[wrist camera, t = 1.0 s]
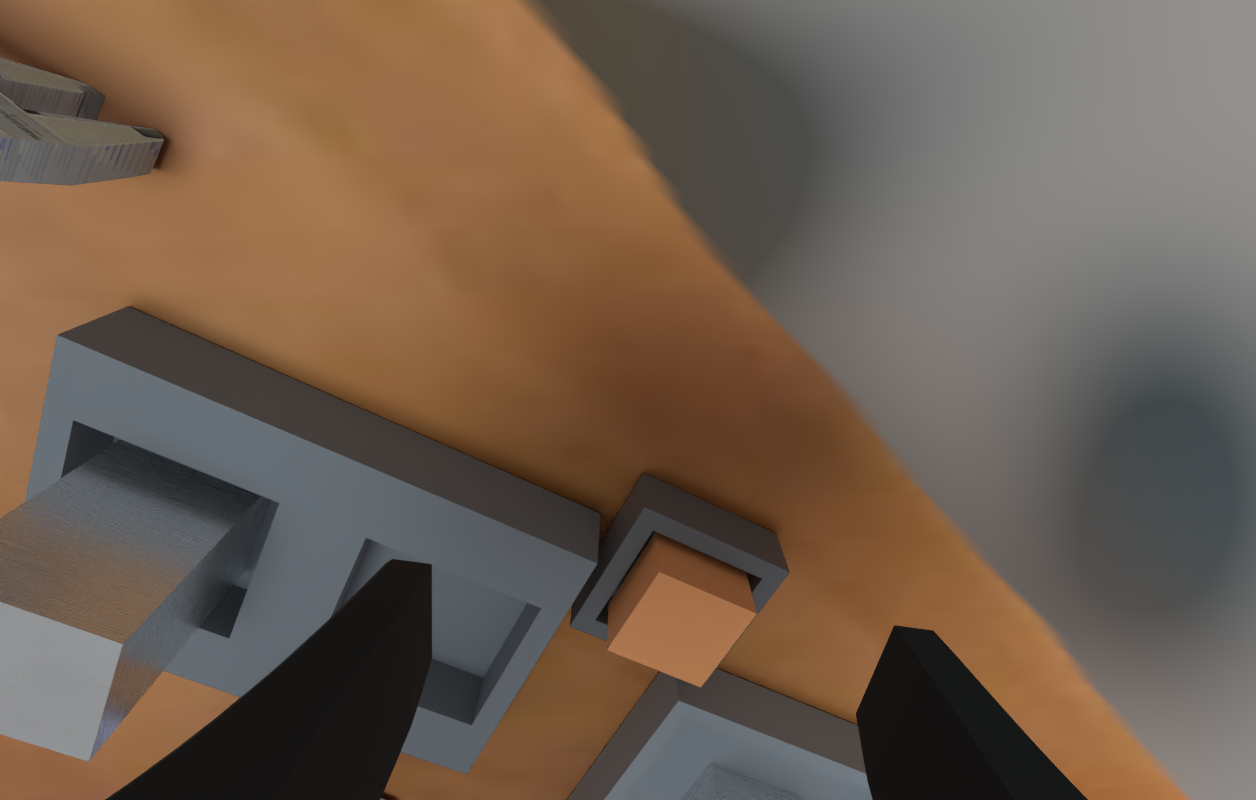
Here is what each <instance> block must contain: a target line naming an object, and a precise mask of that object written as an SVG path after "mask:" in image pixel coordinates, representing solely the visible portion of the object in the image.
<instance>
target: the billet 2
mask: <svg viewBox="0 0 1256 800" xmlns="http://www.w3.org/2000/svg"><path fill="white" fill-rule="evenodd" d="M681 800H801V799H800V795H797V794H794V793H792V792H789V791H786V790H784V789H781V788H778V787H776V786H773V785H770V784H768V783H765V782H762V781H760V780H757V779H754V778H752V777H749V776H746V775H744V774H741V773H738V772H736V771H733V770H730V769H728V768H725V767H722V766H720V765H717V764H714V763H712V762H711V763H710V764H709V766H708V767H707V768H706V769H705V770H704V772H703V773H702V774H701V775H700V776H699V778H698V779H697V780H696V781H695V783H694V784H693V785H692V786H691V787H690V789H689V790H688V791H687V792H686V794H685V795H684V796H683V797H682V798H681Z"/></svg>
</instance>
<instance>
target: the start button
mask: <svg viewBox="0 0 1256 800" xmlns="http://www.w3.org/2000/svg"><path fill="white" fill-rule="evenodd" d="M756 615H757V612H756V608H755V604H754V600H753V596H752V593H751V589H750V585H749V581H748V577H747V573H746V571H744V570H741V569H739V568H737V567H734V566H732V565H730V564H728V563H725V562H723V561H721V560H719V559H716V558H714V557H712V556H710V555H707V554H705V553H703V552H700V551H698V550H696V549H694V548H691V547H689V546H687V545H685V544H682V543H680V542H678V541H676V540H673V539H671V538H669V537H667V536H664V535H662V534H660V533H657V532H655V533H654V534H653V536H652V538H651V539H650V541H649V542H648V544H647V545H646V547H645V548H644V550H643V551H642V553H641V555H640V556H639V558H638V559H637V561H636V562H635V564H634V565H633V567H632V568H631V570H630V572H629V573H628V575H627V576H626V578H625V579H624V581H623V582H622V584H621V585H620V587H619V589H618V590H617V592H616V593H615V595H614V596H613V598H612V599H611V601H610V603H609V605H608V634H607V650H608V651H610V652H613V653H615V654H618V655H620V656H623V657H625V658H628V659H630V660H633V661H635V662H638V663H640V664H643V665H645V666H648V667H650V668H653V669H656V670H658V671H661V672H663V673H666V674H668V675H671V676H673V677H676V678H678V679H681V680H683V681H686V682H688V683H691V684H693V685H696V686H698V687H702V685H703V684H704V683H705V681H706V680H707V679H708V677H709V676H710V675H711V674H712V672H713V671H714V670H715V668H716V667H717V666H718V664H719V663H720V662H721V660H722V659H723V658H724V657H725V655H726V654H727V653H728V651H729V650H730V649H731V647H732V646H733V645H734V643H735V642H736V641H737V639H738V638H739V637H740V636H741V634H742V633H743V632H744V630H745V629H746V628H747V626H748V625H749V624H750V622H751V621H752V620H753V619H754V617H755V616H756Z"/></svg>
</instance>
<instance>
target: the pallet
mask: <svg viewBox="0 0 1256 800" xmlns="http://www.w3.org/2000/svg"><path fill="white" fill-rule="evenodd" d="M120 439H121V440H124V441H126V442H129V443H131V444H134V445H136V446H139V447H141V448H144V449H146V450H149V451H151V452H154V453H156V454H159V455H161V456H164V457H166V458H169V459H171V460H174V461H176V462H179V463H181V464H184V465H186V466H189V467H191V468H193V469H196V470H198V471H201V472H203V473H206V474H208V475H211V476H213V477H216V478H218V479H221V480H223V481H226V482H228V483H231V484H233V485H236V486H238V487H241V488H243V489H246V490H248V491H251V492H253V493H256V494H258V495H261V496H263V497H266V498H268V499H271V501H270V504H269V507H268V509H267V512H266V515H265V518H264V520H263V523H262V526H261V529H260V531H259V534H258V537H257V540H256V542H255V545H254V548H253V551H252V553H251V556H250V559H249V562H248V564H247V567H246V570H245V571H244V573H243V574H242V575H241V576H240V578H239V579H238V580H237V581H236V582H235V584H234V585H233V586H232V587H231V589H230V590H229V591H228V592H227V593H226V595H225V596H224V597H223V598H222V600H221V601H220V602H219V603H218V604H217V606H216V607H215V608H214V609H213V611H212V612H211V613H210V614H209V615H208V617H207V618H206V619H205V620H204V621H203V623H202V624H201V625H200V626H199V628H198V629H197V630H196V631H195V632H194V634H193V635H192V636H191V637H190V639H189V640H188V641H187V642H186V643H185V645H184V646H183V647H182V648H181V650H180V651H179V652H178V653H177V654H176V656H175V657H174V658H173V659H172V661H171V662H170V663H169V664H168V665H167V667H166V668H165V669H164V670H163V671H166V672H169V673H172V674H175V675H178V676H180V677H183V678H186V679H189V680H192V681H195V682H198V683H201V684H204V685H207V686H210V687H213V688H215V689H218V690H221V691H224V692H227V693H230V694H233V695H236V696H239V697H242V696H243V695H244V694H245V693H247V692H248V691H249V690H250V689H251V688H252V687H254V686H255V685H256V684H257V683H258V682H260V681H261V680H262V679H263V678H264V677H266V676H267V675H268V674H269V673H270V672H272V671H273V670H274V669H275V668H276V667H277V666H278V665H280V664H281V663H282V662H283V661H284V660H285V659H286V658H287V657H288V656H290V655H291V654H292V653H293V652H294V651H295V650H296V649H297V648H298V647H299V646H300V645H302V644H303V643H304V642H305V641H306V640H307V639H308V638H309V637H310V636H311V635H313V634H314V633H315V632H316V631H317V630H318V629H319V628H320V627H321V626H322V625H323V624H324V623H326V622H327V621H328V620H329V619H330V618H331V617H332V616H333V615H334V614H335V613H336V612H337V611H338V610H339V609H340V608H341V607H342V606H343V605H344V604H345V603H346V602H347V601H348V600H349V599H350V598H351V597H352V596H353V595H354V594H355V593H356V592H357V591H358V590H359V589H360V588H361V587H362V586H363V585H364V584H365V583H366V582H367V581H368V580H369V579H370V578H371V577H372V576H373V575H374V574H375V573H376V572H377V571H378V570H379V569H380V568H381V567H382V566H383V565H384V564H385V563H387V562H388V561H390V560H391V559H398V560H405V561H413V562H420V563H428V564H432V661H431V664H430V667H429V671H428V674H427V677H426V681H425V684H424V687H423V691H422V694H421V697H420V700H419V704H418V707H417V710H416V713H415V716H414V719H413V723H412V725H411V728H410V730H409V733H408V735H407V737H406V740H405V742H404V745H403V747H402V749H401V752H402V753H405V754H408V755H411V756H414V757H417V758H420V759H423V760H426V761H429V762H431V763H434V764H437V765H440V766H443V767H446V768H449V769H452V770H455V771H458V772H461V773H464V774H466V775H467V774H468V772H469V770H470V769H471V767H472V765H473V764H474V762H475V761H476V759H477V757H478V756H479V754H480V753H481V751H482V749H483V748H484V746H485V744H486V743H487V741H488V740H489V738H490V736H491V735H492V733H493V732H494V730H495V728H496V727H497V725H498V723H499V722H500V720H501V719H502V717H503V715H504V714H505V712H506V711H507V709H508V707H509V706H510V704H511V702H512V701H513V699H514V698H515V696H516V694H517V693H518V691H519V690H520V688H521V686H522V685H523V683H524V681H525V680H526V678H527V677H528V675H529V673H530V672H531V670H532V669H533V667H534V665H535V664H536V662H537V660H538V659H539V657H540V656H541V654H542V652H543V651H544V649H545V648H546V646H547V644H548V643H549V641H550V639H551V638H552V636H553V635H554V633H555V631H556V630H557V628H558V627H559V625H560V623H561V622H562V620H563V618H564V617H565V615H566V614H567V612H568V610H569V609H570V607H571V606H572V604H573V602H574V601H575V599H576V597H577V596H578V594H579V593H580V591H581V589H582V588H583V586H584V585H585V583H586V581H587V580H588V578H589V576H590V575H591V573H592V572H593V570H594V568H595V567H596V565H597V563H598V547H599V531H600V515H601V514H600V513H598V512H596V511H593V510H591V509H589V508H586V507H584V506H582V505H580V504H577V503H575V502H573V501H570V500H568V499H566V498H564V497H561V496H559V495H557V494H555V493H552V492H550V491H548V490H545V489H543V488H541V487H539V486H536V485H534V484H532V483H530V482H527V481H525V480H523V479H520V478H518V477H516V476H514V475H511V474H509V473H507V472H504V471H502V470H500V469H498V468H495V467H493V466H491V465H489V464H486V463H484V462H482V461H479V460H477V459H475V458H473V457H470V456H468V455H466V454H464V453H461V452H459V451H457V450H454V449H452V448H450V447H448V446H445V445H443V444H441V443H438V442H436V441H434V440H432V439H429V438H427V437H425V436H423V435H420V434H418V433H416V432H413V431H411V430H409V429H407V428H404V427H402V426H400V425H398V424H395V423H393V422H391V421H388V420H386V419H384V418H382V417H379V416H377V415H375V414H373V413H370V412H368V411H366V410H363V409H361V408H359V407H357V406H354V405H352V404H350V403H347V402H345V401H343V400H341V399H338V398H336V397H334V396H332V395H329V394H327V393H325V392H322V391H320V390H318V389H316V388H313V387H311V386H309V385H307V384H304V383H302V382H300V381H297V380H295V379H293V378H291V377H288V376H286V375H284V374H281V373H279V372H277V371H275V370H272V369H270V368H268V367H266V366H263V365H261V364H259V363H256V362H254V361H252V360H250V359H247V358H245V357H243V356H241V355H238V354H236V353H234V352H231V351H229V350H227V349H225V348H222V347H220V346H218V345H215V344H213V343H211V342H209V341H206V340H204V339H202V338H200V337H197V336H195V335H193V334H190V333H188V332H186V331H184V330H181V329H179V328H177V327H175V326H172V325H170V324H168V323H165V322H163V321H161V320H159V319H156V318H154V317H152V316H150V315H147V314H145V313H143V312H140V311H138V310H136V309H134V308H131V307H129V306H128V307H125V308H123V309H120V310H118V311H115V312H113V313H110V314H108V315H105V316H103V317H100V318H98V319H95V320H93V321H91V322H88V323H86V324H83V325H81V326H78V327H76V328H73V329H71V330H68V331H66V332H63V333H61V334H58V335H57V339H56V344H55V349H54V354H53V360H52V365H51V370H50V375H49V380H48V386H47V391H46V396H45V401H44V406H43V412H42V417H41V422H40V427H39V432H38V437H37V443H36V448H35V453H34V458H33V463H32V469H31V474H30V479H29V484H28V489H27V495H26V500H25V502H26V501H27V500H29V499H30V498H32V497H33V496H35V495H37V494H38V493H40V492H41V491H43V490H44V489H46V488H47V487H49V486H50V485H52V484H53V483H55V482H56V481H58V480H59V479H61V478H62V477H64V476H65V475H67V474H68V473H70V472H71V471H73V470H74V469H76V468H77V467H79V466H80V465H82V464H83V463H85V462H87V461H88V460H90V459H91V458H93V457H94V456H96V455H97V454H99V453H100V452H102V451H103V450H105V449H106V448H108V447H109V446H111V445H112V444H114V443H115V442H117V441H118V440H120Z"/></svg>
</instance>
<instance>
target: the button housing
mask: <svg viewBox="0 0 1256 800" xmlns="http://www.w3.org/2000/svg"><path fill="white" fill-rule="evenodd" d="M655 532H657V533H660V534H662V535H664V536H667V537H669V538H671V539H673V540H676V541H678V542H680V543H682V544H685V545H687V546H689V547H691V548H694V549H696V550H698V551H700V552H703V553H705V554H707V555H710V556H712V557H714V558H716V559H719V560H721V561H723V562H725V563H728V564H730V565H732V566H734V567H737V568H739V569H741V570H744V571H746V573H747V577H748V581H749V585H750V589H751V593H752V596H753V600H754V604H755V608H756V612H757V614H758V613H759V612H760V610H761V609H762V608H763V606H764V605H765V604H766V602H767V601H768V600H769V599H770V597H771V596H772V595H773V593H774V592H775V591H776V589H777V588H778V587H779V585H780V584H781V583H782V582H783V580H784V579H785V578H786V576H787V575H788V574H789V572H790V571H789V569H788V566H787V563H786V560H785V557H784V554H783V551H782V549H781V546H780V543H779V540H778V537H777V534H776V533H774V532H772V531H770V530H767V529H765V528H763V527H761V526H759V525H756V524H754V523H752V522H750V521H748V520H746V519H743V518H741V517H739V516H737V515H735V514H732V513H730V512H728V511H726V510H724V509H722V508H719V507H717V506H715V505H713V504H711V503H708V502H706V501H704V500H702V499H700V498H698V497H695V496H693V495H691V494H689V493H687V492H684V491H682V490H680V489H678V488H676V487H674V486H671V485H669V484H667V483H665V482H663V481H661V480H658V479H656V478H654V477H652V476H650V475H647V474H645V473H642V475H641V477H640V478H639V480H638V482H637V483H636V485H635V487H634V488H633V490H632V491H631V493H630V495H629V496H628V498H627V500H626V501H625V503H624V505H623V506H622V508H621V509H620V511H619V513H618V514H617V516H616V518H615V519H614V521H613V523H612V524H611V526H610V527H609V529H608V531H607V532H606V534H605V536H604V537H603V539H602V541H601V542H600V544H599V547H598V563H597V565H596V567H595V568H594V570H593V572H592V573H591V575H590V576H589V578H588V580H587V581H586V583H585V585H584V586H583V588H582V589H581V591H580V593H579V594H578V596H577V597H576V599H575V601H574V602H573V604H572V610H571V620H570V627H572V628H575V629H577V630H580V631H582V632H585V633H587V634H590V635H592V636H595V637H597V638H600V639H602V640H605V641H607V634H608V605H609V603H610V601H611V599H612V598H613V596H614V595H615V593H616V592H617V590H618V589H619V587H620V585H621V584H622V582H623V581H624V579H625V578H626V576H627V575H628V573H629V572H630V570H631V568H632V567H633V565H634V564H635V562H636V561H637V559H638V558H639V556H640V555H641V553H642V551H643V550H644V548H645V547H646V545H647V544H648V542H649V541H650V539H651V538H652V536H653V534H654V533H655ZM756 616H757V615H756ZM756 616H755V617H756ZM755 617H754V618H755ZM752 621H753V620H752ZM752 621H751V622H752ZM751 622H750V623H751ZM749 625H750V624H749ZM749 625H748V626H749ZM748 626H747V627H748ZM746 629H747V628H746ZM746 629H745V630H746ZM745 630H744V631H745ZM743 633H744V632H743ZM743 633H742V634H743ZM742 634H741V635H742ZM739 638H740V637H739ZM739 638H738V639H739ZM738 639H737V640H738ZM736 642H737V641H736ZM736 642H735V643H736ZM735 643H734V644H735ZM733 646H734V645H733ZM733 646H732V647H733ZM732 647H731V648H732ZM730 650H731V649H730ZM730 650H729V651H730ZM729 651H728V652H729ZM726 655H727V654H726ZM726 655H725V656H726ZM723 659H724V658H723ZM723 659H722V660H723ZM722 660H721V661H722ZM720 663H721V662H720ZM720 663H719V664H720ZM719 664H718V665H719ZM717 667H718V666H717ZM717 667H716V668H717ZM716 668H715V669H716ZM714 671H715V670H714ZM714 671H713V672H714ZM713 672H712V673H713ZM710 676H711V675H710ZM710 676H709V677H710ZM709 677H708V678H709ZM707 680H708V679H707ZM707 680H706V681H707Z"/></svg>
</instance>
